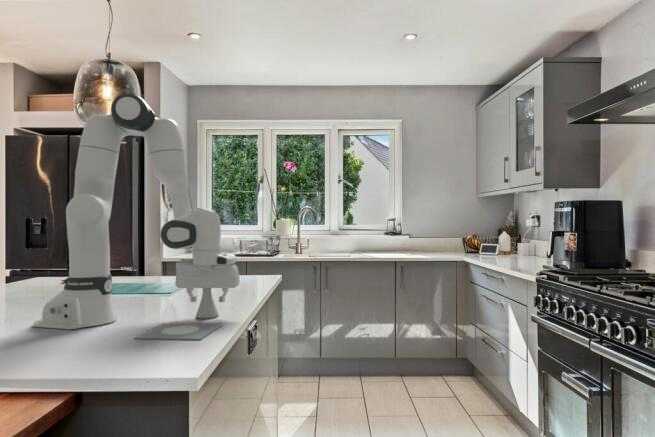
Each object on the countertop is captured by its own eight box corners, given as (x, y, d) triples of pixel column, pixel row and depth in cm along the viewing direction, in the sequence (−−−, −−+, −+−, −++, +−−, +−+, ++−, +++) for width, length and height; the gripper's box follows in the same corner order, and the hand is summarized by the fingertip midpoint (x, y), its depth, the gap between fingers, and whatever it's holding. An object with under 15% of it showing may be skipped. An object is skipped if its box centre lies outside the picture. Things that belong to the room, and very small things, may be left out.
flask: (212, 319, 139) (212, 287, 139) (191, 318, 141) (190, 287, 141) (222, 314, 146) (222, 284, 147) (202, 314, 148) (201, 283, 148)
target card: (133, 339, 117) (133, 336, 117) (162, 324, 133) (162, 322, 133) (200, 340, 115) (200, 337, 115) (221, 325, 131) (221, 323, 131)
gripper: (171, 259, 142) (172, 303, 142) (234, 259, 140) (235, 303, 140) (180, 258, 148) (180, 300, 148) (240, 257, 146) (241, 300, 146)
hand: (207, 301), depth 144 cm, fingers open, 8 cm apart
